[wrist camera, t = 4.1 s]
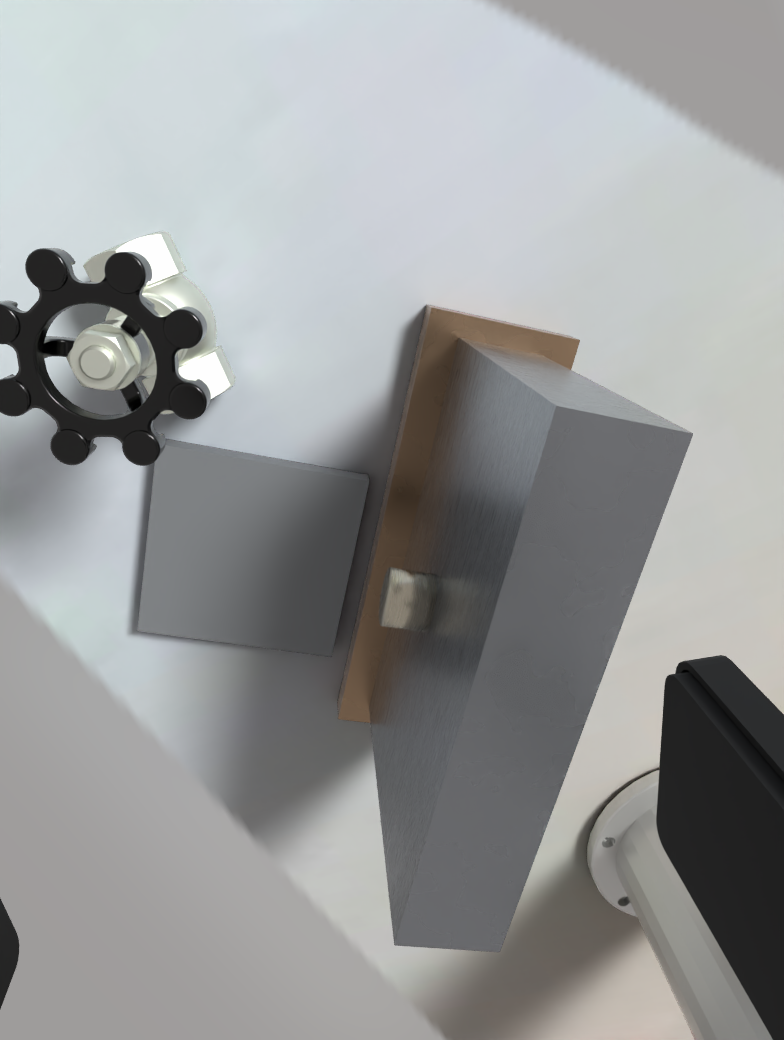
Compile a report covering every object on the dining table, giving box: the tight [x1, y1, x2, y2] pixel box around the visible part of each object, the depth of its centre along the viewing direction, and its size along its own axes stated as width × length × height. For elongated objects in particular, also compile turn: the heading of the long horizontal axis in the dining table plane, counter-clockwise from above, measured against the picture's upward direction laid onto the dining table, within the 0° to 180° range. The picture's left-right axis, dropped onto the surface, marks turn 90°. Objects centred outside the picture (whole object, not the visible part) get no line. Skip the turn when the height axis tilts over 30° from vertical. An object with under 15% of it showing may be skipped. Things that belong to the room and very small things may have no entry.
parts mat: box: [137, 439, 369, 657], centre depth 36 cm, size 10×10×1 cm
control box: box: [337, 305, 693, 952], centre depth 30 cm, size 7×22×16 cm, turn 168°
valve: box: [0, 231, 235, 466], centre depth 26 cm, size 7×7×12 cm
